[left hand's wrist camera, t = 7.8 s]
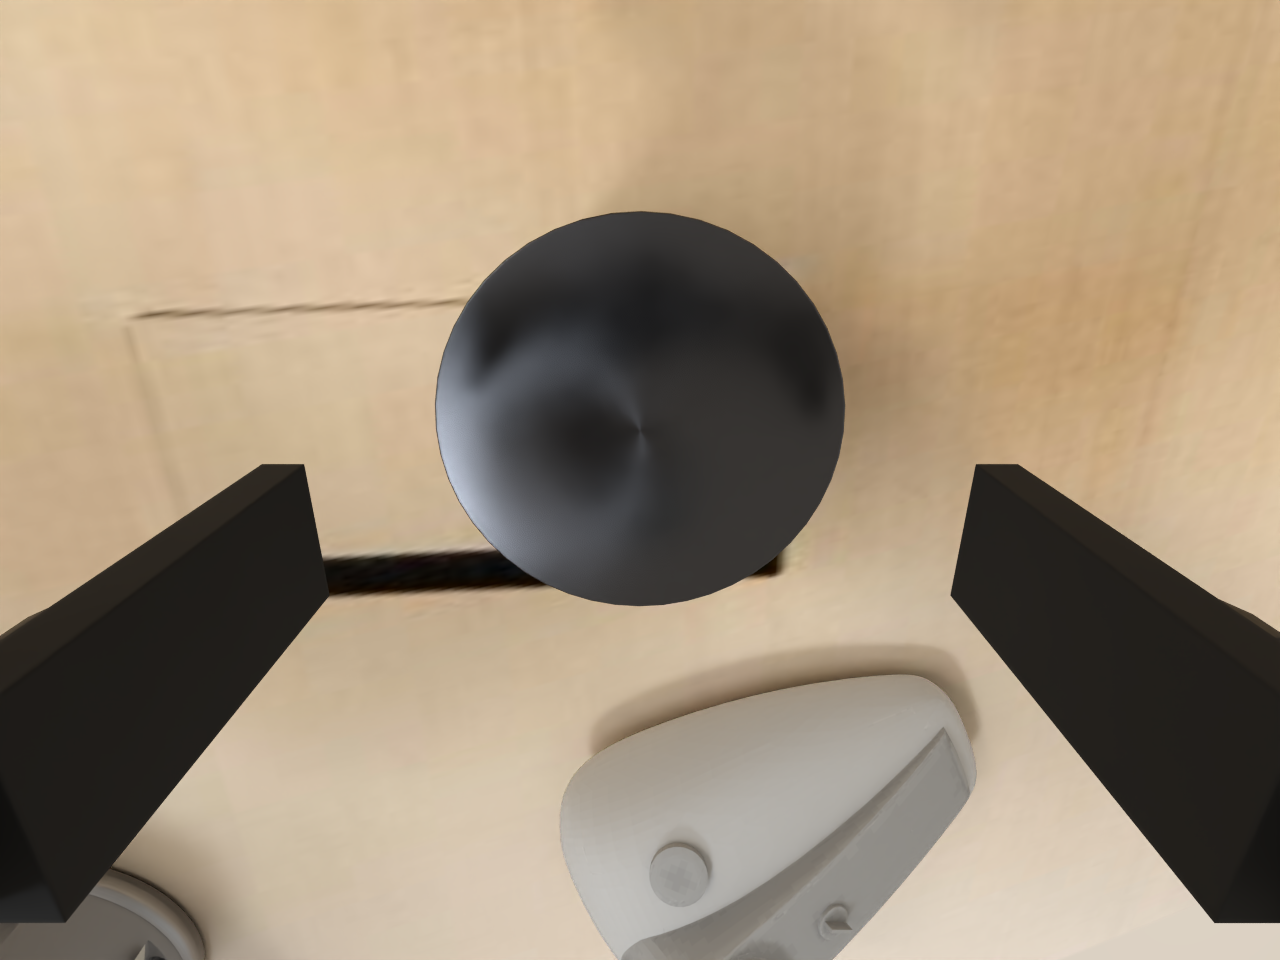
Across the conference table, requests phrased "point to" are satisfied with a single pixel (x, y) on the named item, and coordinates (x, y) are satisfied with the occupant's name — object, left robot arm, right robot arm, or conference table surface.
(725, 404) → the lid
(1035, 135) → the conference table surface
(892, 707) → the projector
